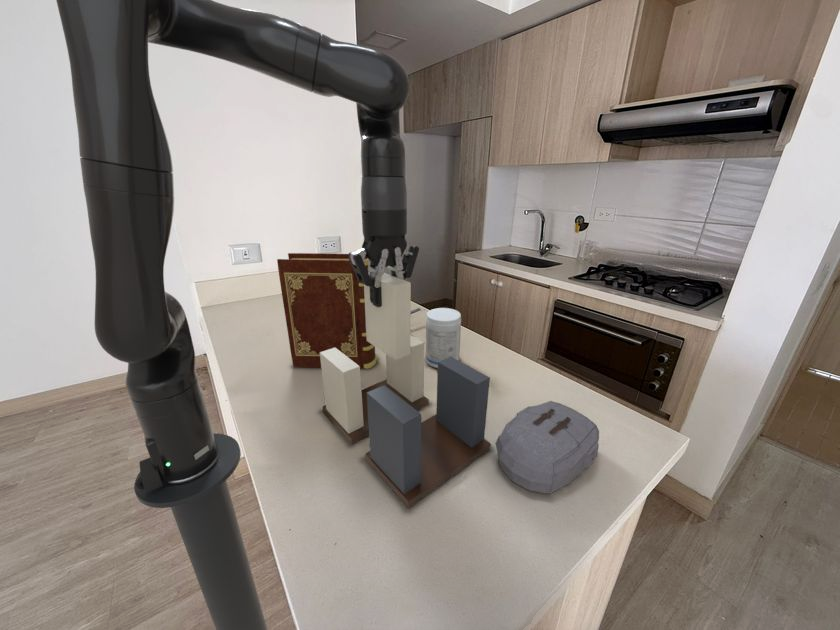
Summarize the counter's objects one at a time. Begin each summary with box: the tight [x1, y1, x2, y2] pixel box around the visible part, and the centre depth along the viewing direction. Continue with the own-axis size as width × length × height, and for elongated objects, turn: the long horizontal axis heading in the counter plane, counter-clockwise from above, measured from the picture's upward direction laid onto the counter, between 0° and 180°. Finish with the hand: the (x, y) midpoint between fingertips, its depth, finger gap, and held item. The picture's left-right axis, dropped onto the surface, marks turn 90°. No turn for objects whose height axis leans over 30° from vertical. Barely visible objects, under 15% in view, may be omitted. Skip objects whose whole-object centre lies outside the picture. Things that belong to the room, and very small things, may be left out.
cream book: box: [364, 272, 412, 360], centre depth 64 cm, size 4×10×14 cm, turn 39°
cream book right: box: [385, 334, 425, 402], centre depth 79 cm, size 4×10×14 cm, turn 40°
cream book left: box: [320, 348, 364, 434], centre depth 69 cm, size 4×10×14 cm, turn 40°
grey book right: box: [435, 357, 491, 447], centre depth 66 cm, size 4×10×14 cm, turn 40°
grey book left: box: [367, 385, 422, 494], centre depth 56 cm, size 4×10×14 cm, turn 40°
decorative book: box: [276, 252, 378, 370], centre depth 91 cm, size 22×8×30 cm, turn 89°
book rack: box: [321, 378, 492, 509], centre depth 70 cm, size 20×31×2 cm, turn 40°
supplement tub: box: [425, 307, 462, 369], centre depth 94 cm, size 10×10×15 cm
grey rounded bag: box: [494, 400, 600, 494], centre depth 62 cm, size 15×8×20 cm
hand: (386, 303), depth 63 cm, fingers closed on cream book, 3 cm apart
